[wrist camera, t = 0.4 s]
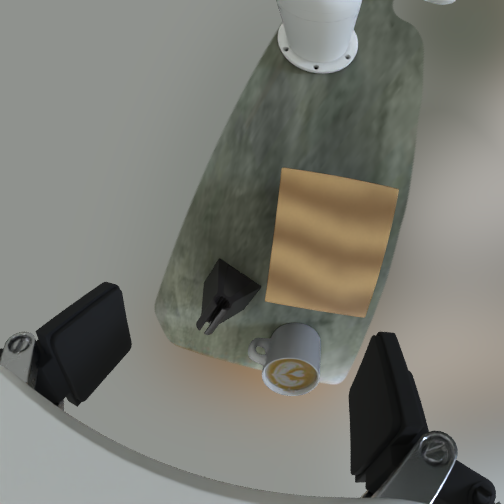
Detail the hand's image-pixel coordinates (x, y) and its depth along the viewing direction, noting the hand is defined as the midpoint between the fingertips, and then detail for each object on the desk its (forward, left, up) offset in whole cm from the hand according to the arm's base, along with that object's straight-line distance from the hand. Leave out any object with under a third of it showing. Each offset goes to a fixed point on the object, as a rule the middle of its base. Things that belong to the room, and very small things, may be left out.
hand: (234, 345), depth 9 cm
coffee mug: (+28, +3, -36) cm, 46 cm away
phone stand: (+18, -9, -36) cm, 41 cm away
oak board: (+6, +6, -30) cm, 31 cm away
